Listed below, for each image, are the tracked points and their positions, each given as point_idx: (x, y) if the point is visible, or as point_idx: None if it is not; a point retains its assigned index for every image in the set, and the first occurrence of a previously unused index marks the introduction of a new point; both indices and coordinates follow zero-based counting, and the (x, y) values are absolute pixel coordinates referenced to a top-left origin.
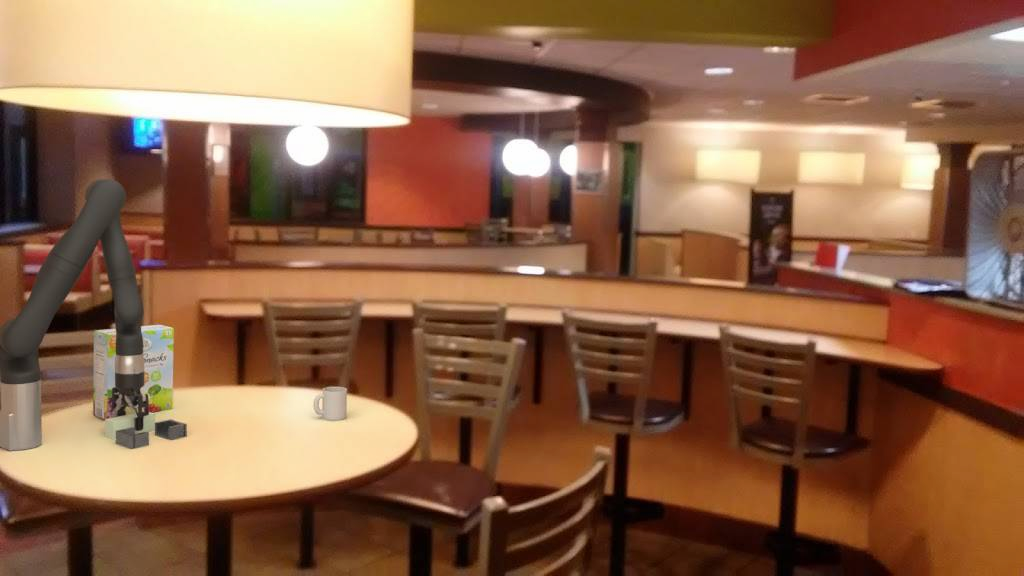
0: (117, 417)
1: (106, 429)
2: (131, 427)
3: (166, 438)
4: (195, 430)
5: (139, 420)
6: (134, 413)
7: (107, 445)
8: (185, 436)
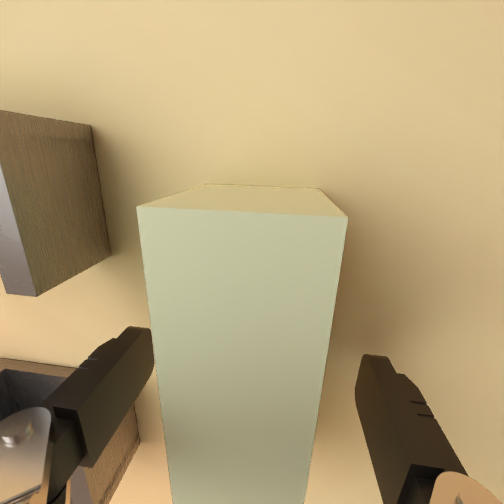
0: (296, 360)
1: (300, 195)
2: (33, 283)
3: (30, 363)
4: None
5: (54, 399)
6: (24, 459)
7: (81, 48)
8: None
